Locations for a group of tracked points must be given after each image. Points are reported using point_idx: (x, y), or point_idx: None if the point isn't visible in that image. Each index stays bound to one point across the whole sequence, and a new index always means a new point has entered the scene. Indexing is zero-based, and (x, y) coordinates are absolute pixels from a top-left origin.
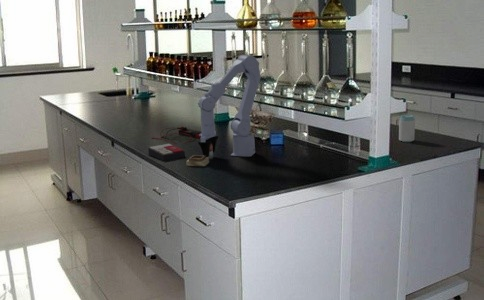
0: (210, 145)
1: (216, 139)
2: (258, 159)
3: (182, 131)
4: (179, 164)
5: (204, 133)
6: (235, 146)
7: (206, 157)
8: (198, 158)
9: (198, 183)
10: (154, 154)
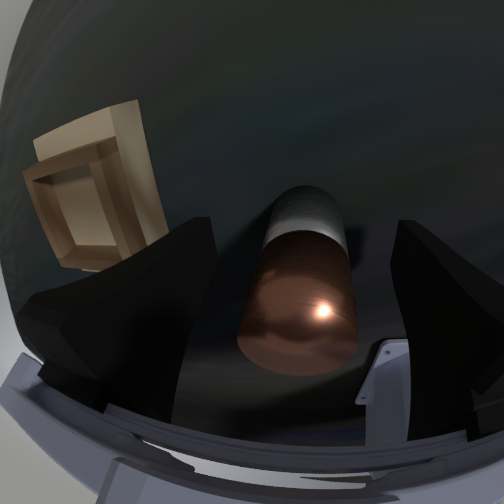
0: (261, 358)
1: (409, 424)
2: (313, 414)
3: None
4: (64, 58)
5: None
6: (389, 413)
7: (279, 203)
8: (54, 245)
9: (6, 284)
10: None
